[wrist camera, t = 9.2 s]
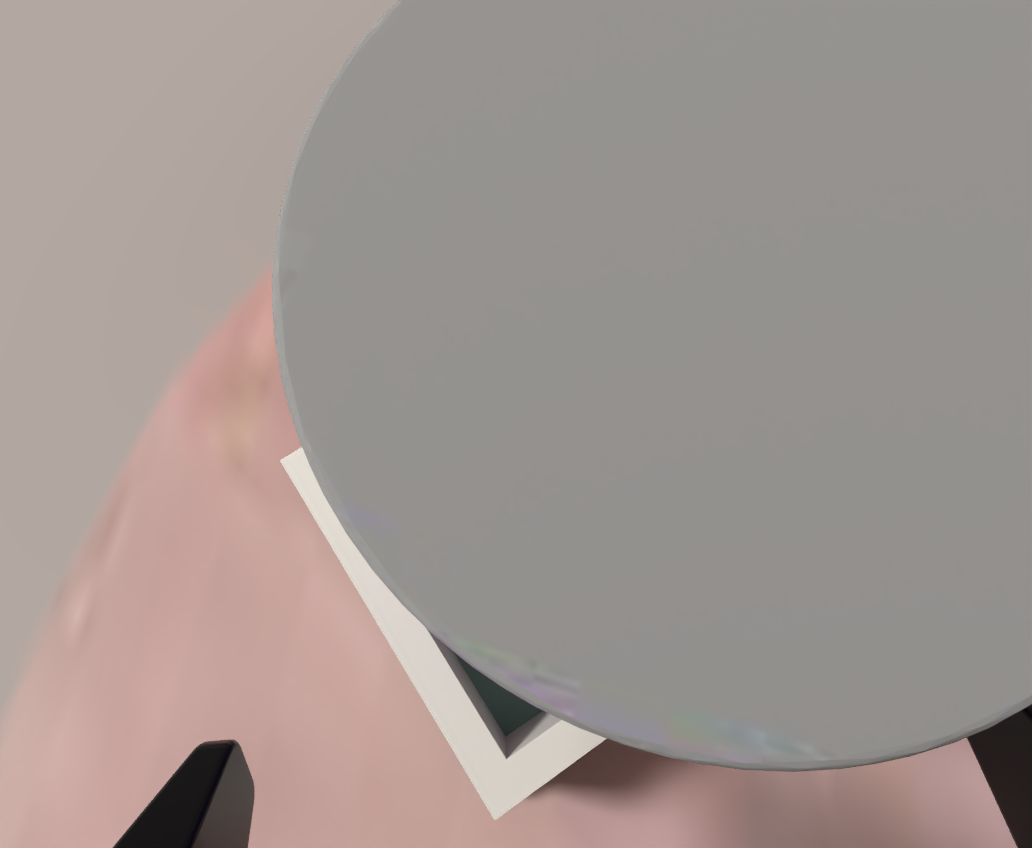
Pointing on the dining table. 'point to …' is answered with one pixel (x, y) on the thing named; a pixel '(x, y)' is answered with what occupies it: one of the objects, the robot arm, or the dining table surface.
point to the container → (684, 359)
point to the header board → (456, 682)
